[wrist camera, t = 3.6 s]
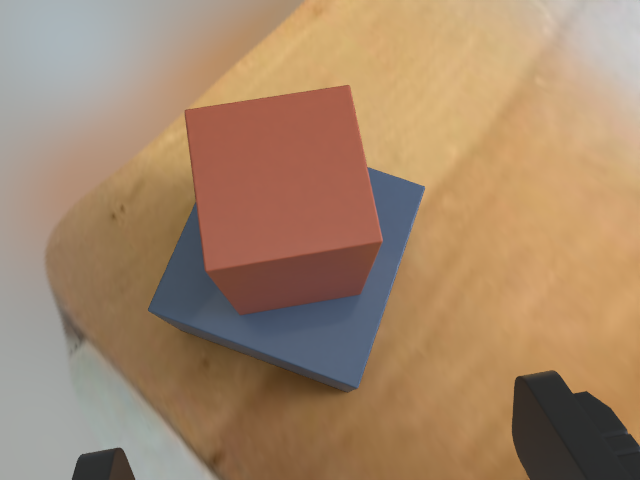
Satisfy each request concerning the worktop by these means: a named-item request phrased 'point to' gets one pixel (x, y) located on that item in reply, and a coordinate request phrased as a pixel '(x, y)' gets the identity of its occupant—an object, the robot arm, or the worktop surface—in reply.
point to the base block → (302, 320)
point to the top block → (283, 199)
